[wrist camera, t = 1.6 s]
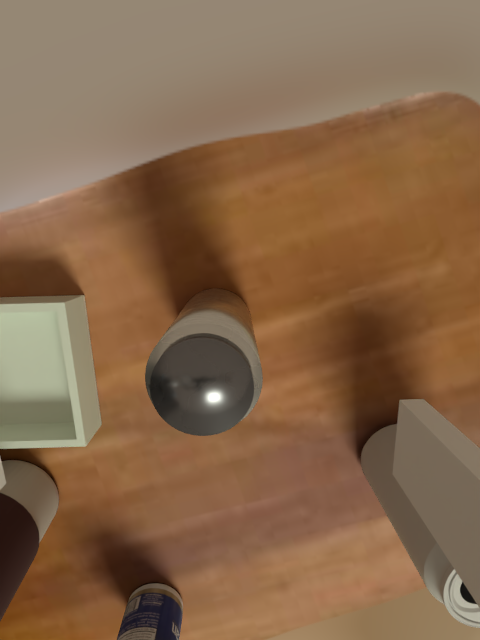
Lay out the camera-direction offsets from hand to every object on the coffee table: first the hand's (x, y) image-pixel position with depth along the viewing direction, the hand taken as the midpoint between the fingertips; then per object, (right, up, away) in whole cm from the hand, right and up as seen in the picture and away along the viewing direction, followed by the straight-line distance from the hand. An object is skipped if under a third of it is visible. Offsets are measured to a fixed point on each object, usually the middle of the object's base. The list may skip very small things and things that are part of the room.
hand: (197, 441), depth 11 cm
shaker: (0, +4, +16) cm, 16 cm away
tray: (-16, 0, +16) cm, 23 cm away
